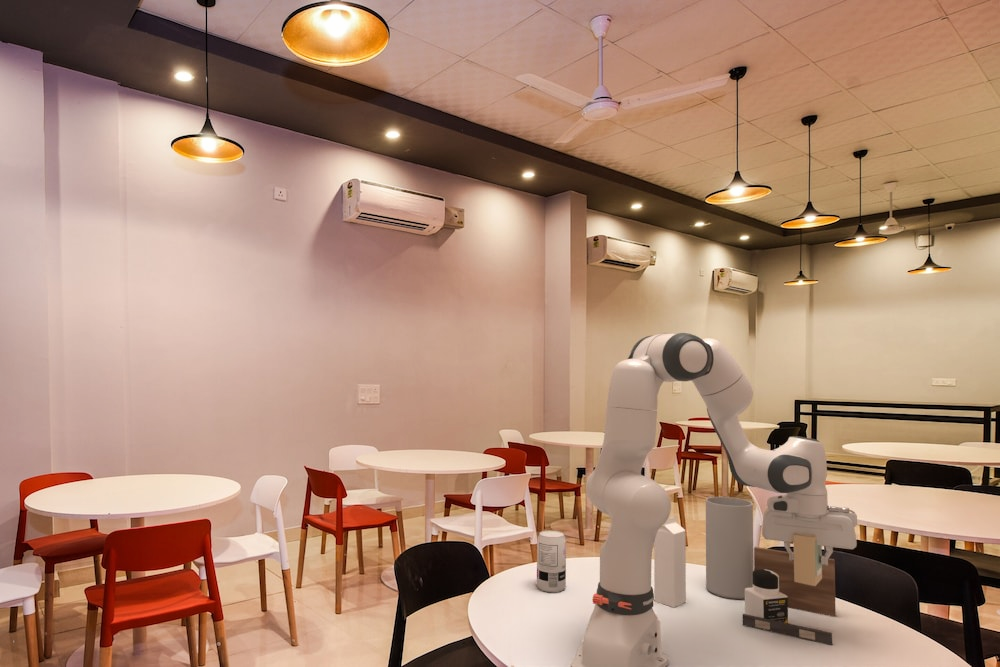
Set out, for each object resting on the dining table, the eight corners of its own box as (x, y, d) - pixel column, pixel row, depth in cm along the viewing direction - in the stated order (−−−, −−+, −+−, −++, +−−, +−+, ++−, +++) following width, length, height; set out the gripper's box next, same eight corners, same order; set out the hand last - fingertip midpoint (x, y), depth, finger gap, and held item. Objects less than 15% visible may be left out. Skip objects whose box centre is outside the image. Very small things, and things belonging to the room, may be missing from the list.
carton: (823, 578, 143) (821, 532, 143) (816, 586, 137) (814, 538, 138) (801, 574, 146) (800, 528, 146) (794, 581, 140) (793, 534, 141)
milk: (685, 602, 157) (686, 518, 159) (673, 608, 153) (674, 521, 155) (665, 595, 162) (666, 514, 163) (653, 601, 158) (654, 517, 159)
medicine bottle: (764, 628, 142) (763, 577, 142) (744, 616, 148) (743, 568, 149) (788, 625, 143) (788, 575, 144) (768, 614, 150) (767, 566, 151)
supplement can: (531, 585, 168) (532, 531, 169) (556, 581, 171) (557, 528, 173) (545, 595, 161) (546, 538, 162) (571, 590, 164) (571, 535, 165)
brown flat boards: (832, 645, 133) (830, 582, 134) (742, 625, 143) (741, 566, 144) (835, 615, 150) (834, 559, 151) (755, 599, 160) (754, 546, 161)
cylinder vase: (757, 602, 158) (756, 507, 160) (708, 597, 161) (707, 504, 163) (750, 586, 170) (749, 498, 172) (704, 581, 173) (704, 495, 175)
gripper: (854, 505, 141) (856, 564, 140) (761, 497, 150) (762, 553, 149) (858, 511, 135) (860, 573, 135) (761, 502, 144) (762, 560, 143)
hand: (808, 562), depth 142 cm, fingers closed on carton, 5 cm apart
